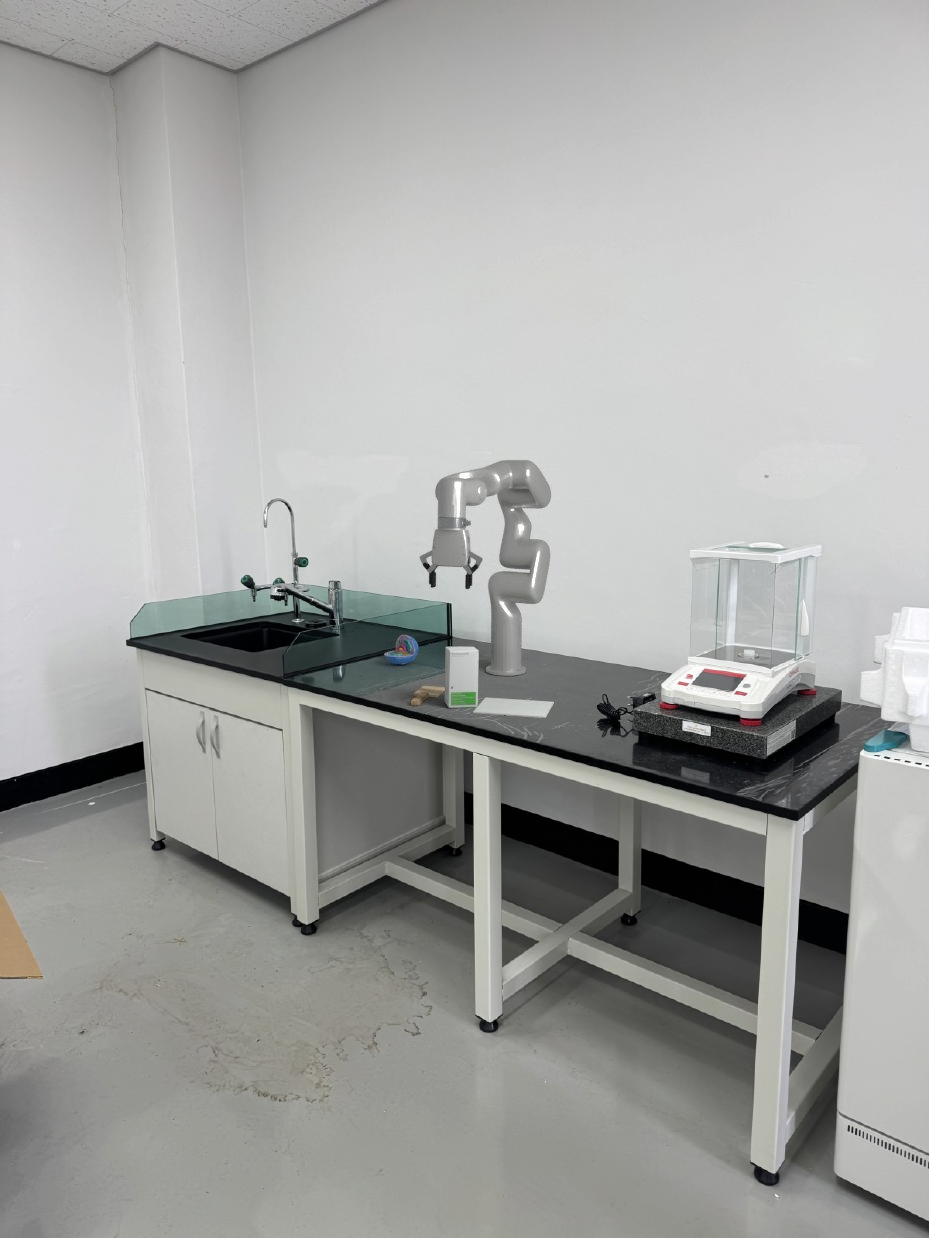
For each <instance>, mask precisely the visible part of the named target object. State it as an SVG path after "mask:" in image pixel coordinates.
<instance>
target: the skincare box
mask: <svg viewBox="0 0 929 1238" xmlns="http://www.w3.org/2000/svg"><path fill="white" fill-rule="evenodd" d="M444 650H445V655H444V656H445V659H444V660H445V661H444V662H445V664H444V665H445V666H444V667H445V668H444V669H445V672H444V675H445V676H444V687H445V691H444V703H445V705H446V706H447V707H448V708H449V709H454V708H455V709H457V708H459V709H460V708H461V709H462V708H477V707H478V705H479V702H478V700H479V699H478V698H479V694H478V693H479V659H480V658H479V655H480V654H479V652H480V650H479V649H478V648H476V647H475V646H445V649H444Z"/></svg>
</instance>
